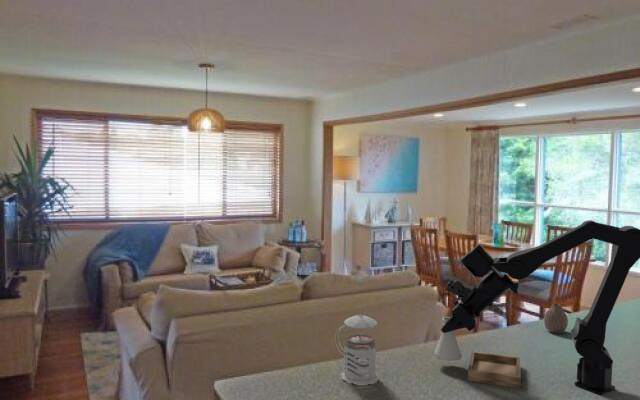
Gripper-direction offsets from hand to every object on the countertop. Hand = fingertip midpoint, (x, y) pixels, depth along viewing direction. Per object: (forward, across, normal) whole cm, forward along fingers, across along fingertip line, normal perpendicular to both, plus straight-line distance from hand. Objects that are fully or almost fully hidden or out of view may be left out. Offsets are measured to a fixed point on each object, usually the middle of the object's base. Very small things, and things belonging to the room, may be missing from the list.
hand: (442, 329), depth 133 cm
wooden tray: (-2, 0, +16) cm, 16 cm away
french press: (+20, +15, -7) cm, 26 cm away
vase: (-14, -42, +29) cm, 53 cm away
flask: (+4, 0, +6) cm, 7 cm away
